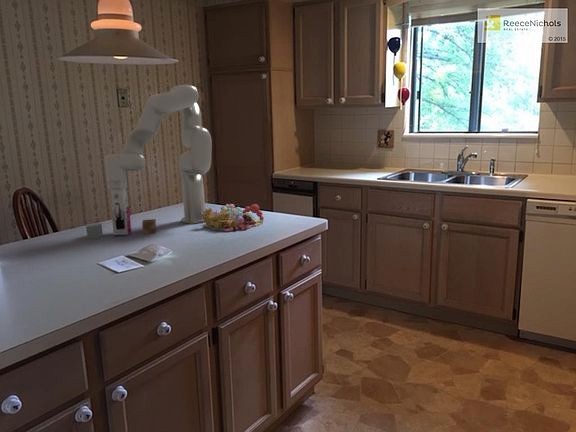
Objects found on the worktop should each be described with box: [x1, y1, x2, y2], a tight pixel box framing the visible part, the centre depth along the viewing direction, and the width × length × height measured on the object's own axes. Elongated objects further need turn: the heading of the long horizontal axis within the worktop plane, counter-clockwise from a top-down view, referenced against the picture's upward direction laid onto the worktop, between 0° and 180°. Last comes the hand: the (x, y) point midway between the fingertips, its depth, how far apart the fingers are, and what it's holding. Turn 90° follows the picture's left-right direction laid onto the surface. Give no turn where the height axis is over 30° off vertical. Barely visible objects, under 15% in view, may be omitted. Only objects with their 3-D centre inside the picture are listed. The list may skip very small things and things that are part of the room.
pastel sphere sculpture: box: [201, 203, 265, 232], centre depth 212 cm, size 25×24×9 cm
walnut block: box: [141, 218, 157, 235], centre depth 204 cm, size 5×5×5 cm
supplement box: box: [111, 205, 132, 237], centre depth 202 cm, size 6×6×12 cm
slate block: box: [85, 222, 103, 239], centre depth 200 cm, size 5×5×5 cm
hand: (121, 226), depth 202 cm, fingers open, 7 cm apart
